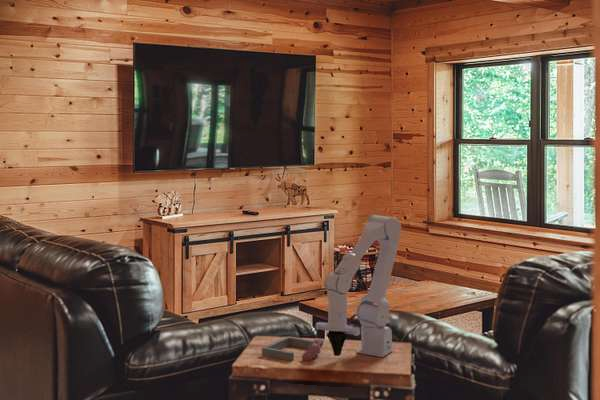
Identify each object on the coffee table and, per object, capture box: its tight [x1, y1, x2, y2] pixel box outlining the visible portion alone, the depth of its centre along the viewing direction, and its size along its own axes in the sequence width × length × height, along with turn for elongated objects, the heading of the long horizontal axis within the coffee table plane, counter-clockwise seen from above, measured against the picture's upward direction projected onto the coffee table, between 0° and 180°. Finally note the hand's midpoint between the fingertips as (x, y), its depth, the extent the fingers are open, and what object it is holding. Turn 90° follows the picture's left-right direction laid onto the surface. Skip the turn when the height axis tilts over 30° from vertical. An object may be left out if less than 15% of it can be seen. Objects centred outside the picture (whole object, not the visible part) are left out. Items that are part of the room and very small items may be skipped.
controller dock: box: [261, 336, 314, 362], centre depth 239 cm, size 11×15×2 cm
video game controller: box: [301, 338, 325, 362], centre depth 234 cm, size 10×5×7 cm, turn 169°
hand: (337, 354), depth 230 cm, fingers closed
